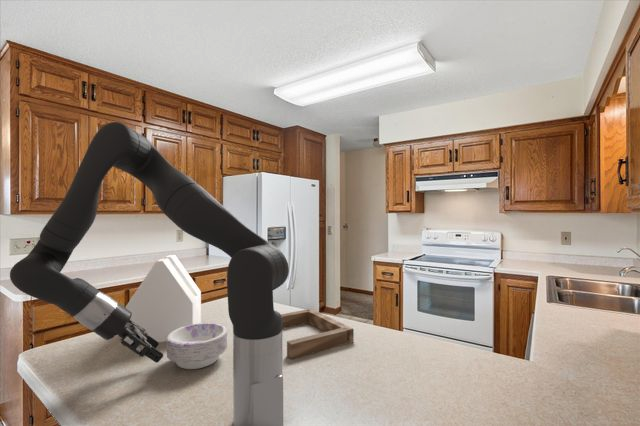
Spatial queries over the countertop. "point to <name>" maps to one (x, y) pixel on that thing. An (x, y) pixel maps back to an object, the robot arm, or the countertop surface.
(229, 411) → the countertop surface
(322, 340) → the walnut bay
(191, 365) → the paper bowls
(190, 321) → the white house shaped block
